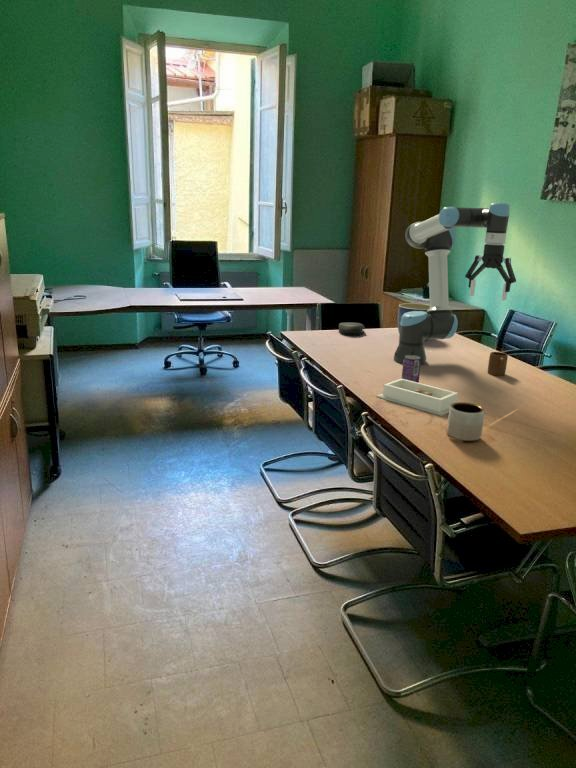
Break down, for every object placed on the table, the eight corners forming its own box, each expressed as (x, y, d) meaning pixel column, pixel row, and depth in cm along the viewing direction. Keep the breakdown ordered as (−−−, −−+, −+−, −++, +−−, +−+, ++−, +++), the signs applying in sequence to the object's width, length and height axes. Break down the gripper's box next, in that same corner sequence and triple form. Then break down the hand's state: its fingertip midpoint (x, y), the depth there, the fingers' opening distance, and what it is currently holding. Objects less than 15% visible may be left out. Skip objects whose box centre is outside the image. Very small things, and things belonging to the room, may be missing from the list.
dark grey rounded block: (339, 339, 317) (340, 326, 315) (337, 332, 335) (338, 319, 332) (365, 340, 317) (366, 326, 315) (362, 333, 335) (363, 320, 332)
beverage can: (419, 383, 240) (422, 355, 236) (417, 388, 233) (420, 359, 230) (402, 381, 242) (404, 354, 238) (399, 386, 236) (402, 357, 232)
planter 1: (392, 341, 315) (395, 307, 309) (398, 334, 333) (401, 301, 328) (430, 345, 308) (434, 310, 303) (435, 338, 327) (438, 305, 321)
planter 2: (441, 429, 191) (444, 401, 188) (473, 429, 192) (476, 402, 189) (453, 442, 180) (457, 413, 177) (486, 441, 181) (490, 413, 178)
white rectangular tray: (376, 397, 221) (377, 384, 219) (399, 388, 232) (400, 376, 231) (441, 416, 203) (443, 402, 201) (463, 406, 214) (464, 393, 212)
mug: (509, 379, 250) (513, 358, 247) (492, 378, 251) (495, 357, 248) (502, 372, 262) (505, 352, 259) (485, 371, 262) (488, 351, 259)
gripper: (460, 242, 231) (454, 295, 237) (522, 246, 215) (514, 302, 221) (469, 241, 236) (462, 293, 243) (530, 246, 220) (521, 301, 227)
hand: (487, 298), depth 232 cm, fingers open, 13 cm apart
